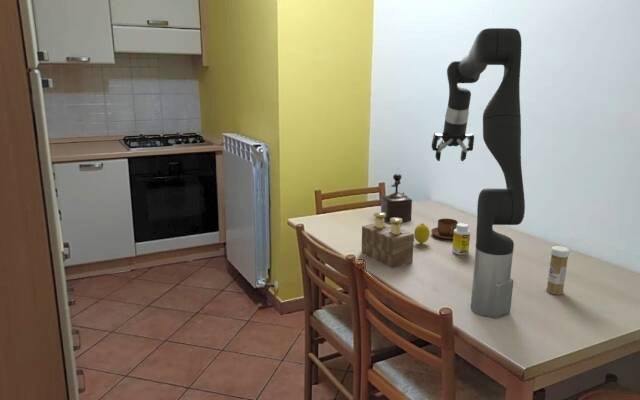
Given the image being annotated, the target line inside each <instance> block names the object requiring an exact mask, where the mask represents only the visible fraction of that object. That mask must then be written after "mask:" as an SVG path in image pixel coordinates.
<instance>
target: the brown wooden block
mask: <svg viewBox="0 0 640 400" xmlns="http://www.w3.org/2000/svg"><path fill="white" fill-rule="evenodd" d="M414 240H415V237H414V232H410V231H408V230H405V229H402V228H400V234H399V235H393V234H391V224H388V223H386V222H384V228H382V229H377V228H375V223H371V224H367V225H362V227H361V255H364V256H366V257H368V258H370V259H372V260H375V261H377V262H379V263H381V264H383V265H385V266H387V267H390V268H392V269H394V268H398V267H401V266H404V265H408V264H411V263H413V261H414V242H415V241H414Z"/></svg>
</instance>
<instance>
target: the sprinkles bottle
mask: <svg viewBox="0 0 640 400" xmlns="http://www.w3.org/2000/svg"><path fill="white" fill-rule="evenodd" d="M550 254H551V255H550V256H551V257H550V264H549V269H548V274H547V275H548V277H547V283H546V284H547V285H546V292H548V293H549V294H552V295H563V294H564V288H565V280H566V275H567V268H568V258H569V256H570V249H569V248H568V247H564V246H561V245H560V246H557V245H555V246H552V247H551V251H550Z"/></svg>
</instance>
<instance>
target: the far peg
mask: <svg viewBox="0 0 640 400" xmlns="http://www.w3.org/2000/svg"><path fill="white" fill-rule="evenodd" d="M373 216H374V217H375V223H374V224H375V228H377V229H382V228H384V223H385V219H384V217H386V213H384V212H381V211H376V212H374V213H373Z"/></svg>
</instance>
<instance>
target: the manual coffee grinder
mask: <svg viewBox="0 0 640 400" xmlns="http://www.w3.org/2000/svg"><path fill="white" fill-rule="evenodd" d="M392 178H393V180H394V183H393V184H391V188H395V192H393V193H391V194H388V195H381V196H380V212H384V213H386V217H384V221H387V222H388V223H391V222H390V218H401V219H402V223H403V222H410V221H412V208H413V206H412V205H413V201H412V199H411V198H409V197H408V196H407V195H406V194H405V192H402V193H400V192H399V190H398V188H399V185H401V179H402V175H401V174H400V173H395V174H394V175H393V176H392Z"/></svg>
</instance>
